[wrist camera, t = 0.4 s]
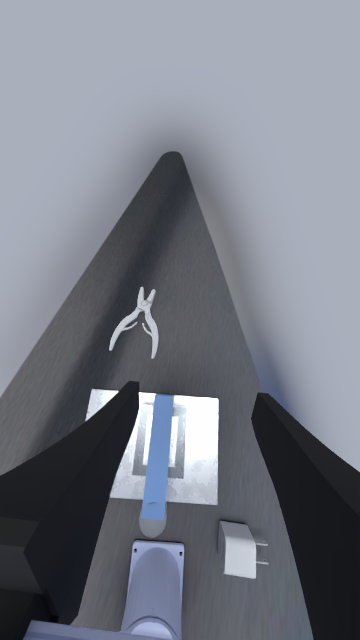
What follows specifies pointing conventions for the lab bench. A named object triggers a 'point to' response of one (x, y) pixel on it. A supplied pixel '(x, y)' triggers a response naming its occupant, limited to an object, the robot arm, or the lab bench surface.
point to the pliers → (141, 307)
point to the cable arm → (157, 468)
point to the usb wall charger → (238, 550)
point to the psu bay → (185, 449)
